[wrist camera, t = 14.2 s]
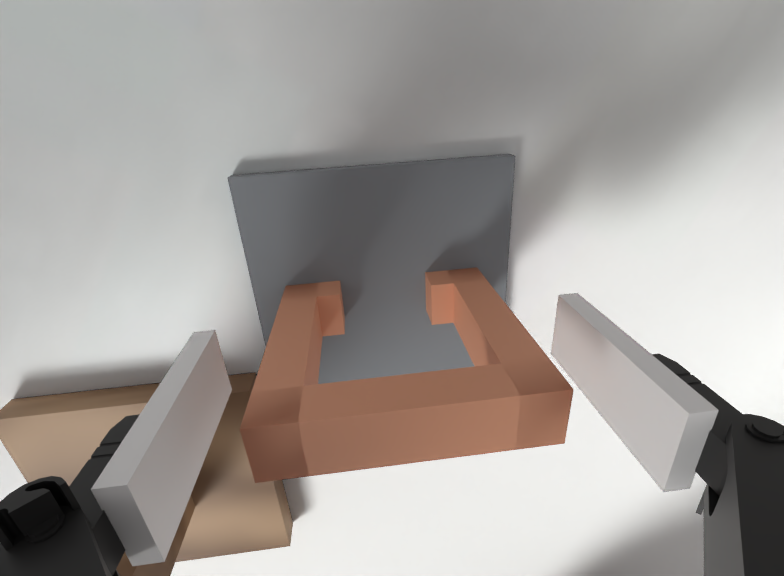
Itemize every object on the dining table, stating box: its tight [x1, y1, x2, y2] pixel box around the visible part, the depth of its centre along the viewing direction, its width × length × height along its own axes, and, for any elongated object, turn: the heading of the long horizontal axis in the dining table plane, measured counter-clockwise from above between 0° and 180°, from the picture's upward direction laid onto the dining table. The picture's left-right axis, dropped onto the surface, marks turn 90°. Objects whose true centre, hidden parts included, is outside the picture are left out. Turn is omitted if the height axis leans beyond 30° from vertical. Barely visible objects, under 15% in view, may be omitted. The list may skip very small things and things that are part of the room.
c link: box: [240, 267, 573, 483], centre depth 15 cm, size 9×2×9 cm, turn 93°
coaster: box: [228, 154, 515, 384], centre depth 20 cm, size 12×12×1 cm
